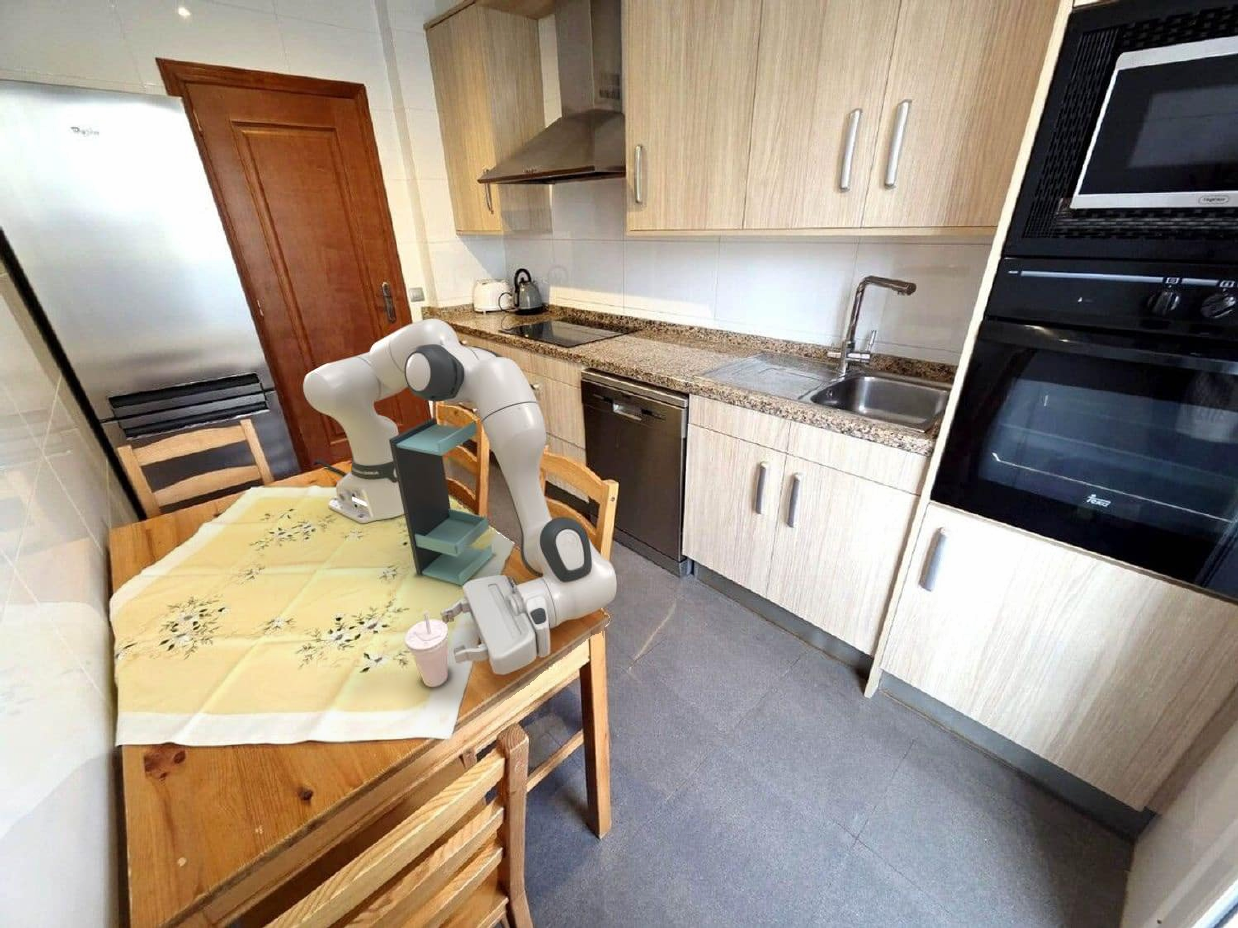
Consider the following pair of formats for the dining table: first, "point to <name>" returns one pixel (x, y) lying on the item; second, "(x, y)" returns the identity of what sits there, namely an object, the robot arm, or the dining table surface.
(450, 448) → the rack
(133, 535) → the dining table surface
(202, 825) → the dining table surface
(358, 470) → the robot arm
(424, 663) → the smoothie
